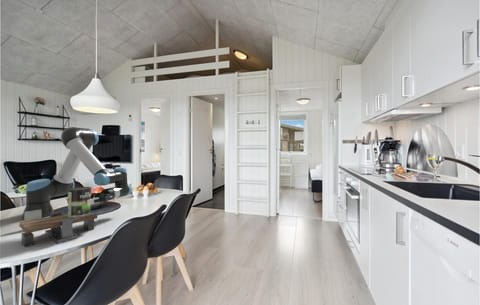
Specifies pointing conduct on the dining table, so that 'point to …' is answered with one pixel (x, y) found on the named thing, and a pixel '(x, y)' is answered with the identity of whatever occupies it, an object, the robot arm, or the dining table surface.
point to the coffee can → (79, 201)
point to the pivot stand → (58, 231)
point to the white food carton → (32, 215)
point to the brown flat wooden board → (52, 222)
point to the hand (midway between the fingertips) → (77, 201)
